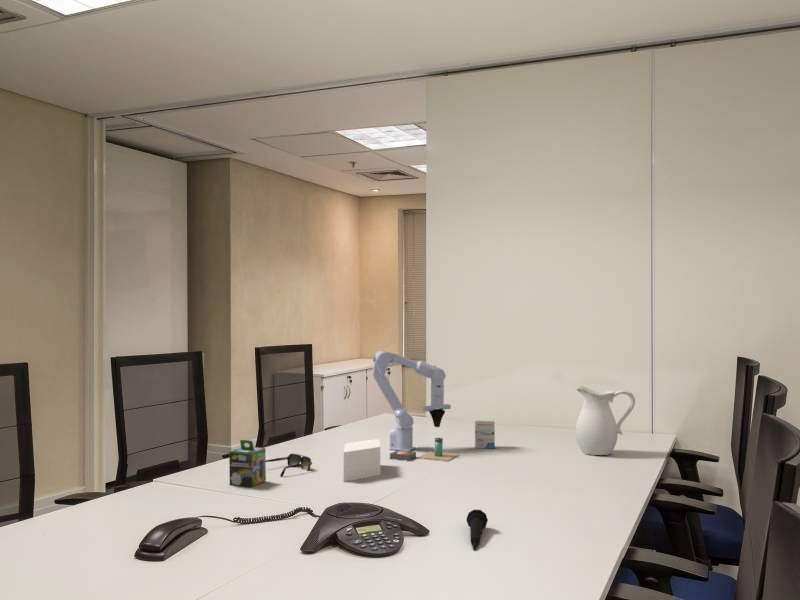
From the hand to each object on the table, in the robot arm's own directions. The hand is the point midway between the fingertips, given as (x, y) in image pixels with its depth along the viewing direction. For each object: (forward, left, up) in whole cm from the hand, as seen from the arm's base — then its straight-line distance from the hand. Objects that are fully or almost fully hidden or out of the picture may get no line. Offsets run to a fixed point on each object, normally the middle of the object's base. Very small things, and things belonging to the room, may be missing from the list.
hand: (436, 426), depth 294 cm
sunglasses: (-35, -64, -10) cm, 74 cm away
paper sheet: (+7, -16, -9) cm, 20 cm away
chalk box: (-36, -86, -10) cm, 94 cm away
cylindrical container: (+7, -16, -9) cm, 20 cm away
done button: (-5, -25, -9) cm, 27 cm away
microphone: (+51, -106, -10) cm, 118 cm away
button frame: (-5, -25, -9) cm, 27 cm away
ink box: (+18, +12, -10) cm, 24 cm away
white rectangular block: (-8, -55, -10) cm, 56 cm away
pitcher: (+68, +21, -10) cm, 72 cm away
